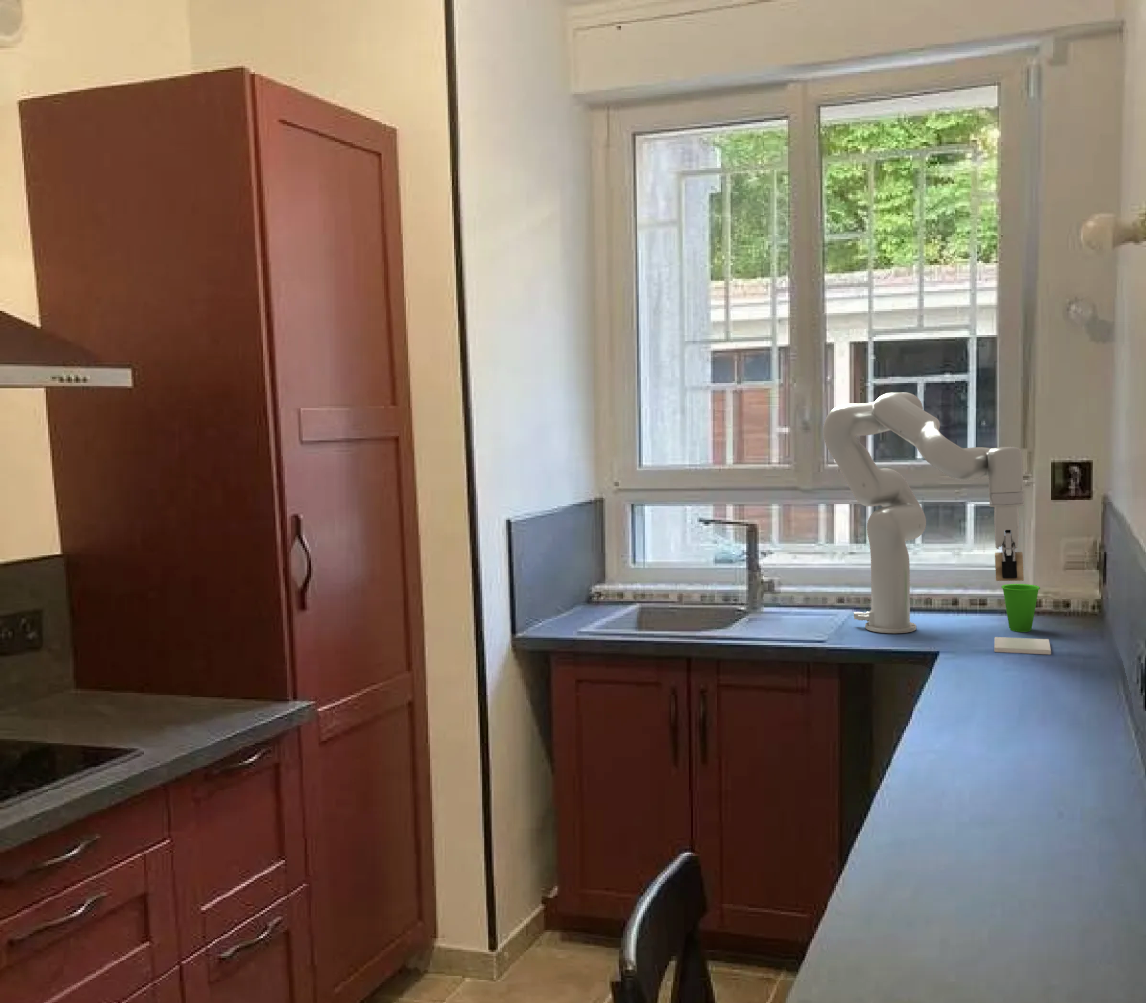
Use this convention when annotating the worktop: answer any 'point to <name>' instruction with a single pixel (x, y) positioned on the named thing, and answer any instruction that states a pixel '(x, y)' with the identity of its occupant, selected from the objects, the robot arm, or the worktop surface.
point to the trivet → (1022, 645)
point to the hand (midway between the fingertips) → (1009, 575)
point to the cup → (1020, 605)
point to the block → (999, 567)
